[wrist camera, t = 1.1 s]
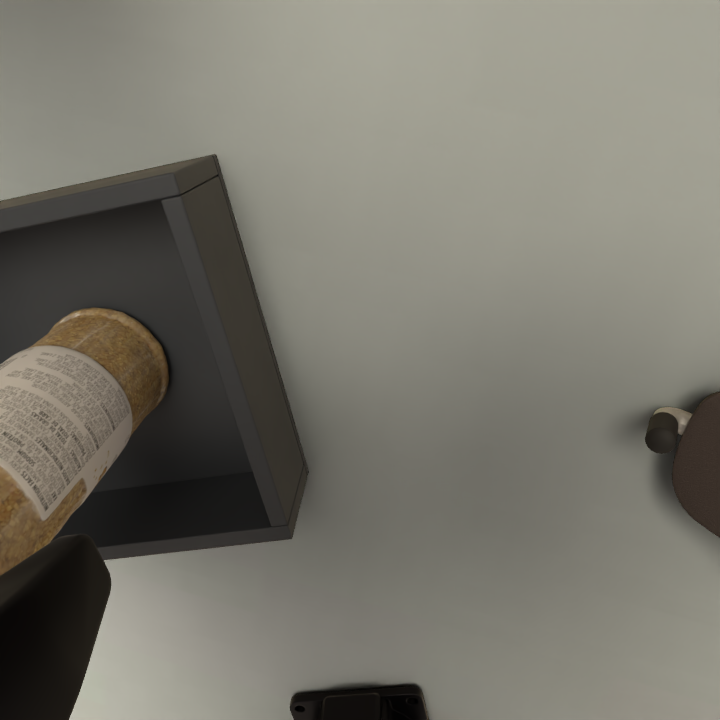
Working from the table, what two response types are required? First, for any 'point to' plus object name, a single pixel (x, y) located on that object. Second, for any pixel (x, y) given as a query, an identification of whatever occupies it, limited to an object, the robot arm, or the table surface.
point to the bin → (182, 350)
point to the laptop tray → (692, 456)
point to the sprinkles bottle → (69, 419)
